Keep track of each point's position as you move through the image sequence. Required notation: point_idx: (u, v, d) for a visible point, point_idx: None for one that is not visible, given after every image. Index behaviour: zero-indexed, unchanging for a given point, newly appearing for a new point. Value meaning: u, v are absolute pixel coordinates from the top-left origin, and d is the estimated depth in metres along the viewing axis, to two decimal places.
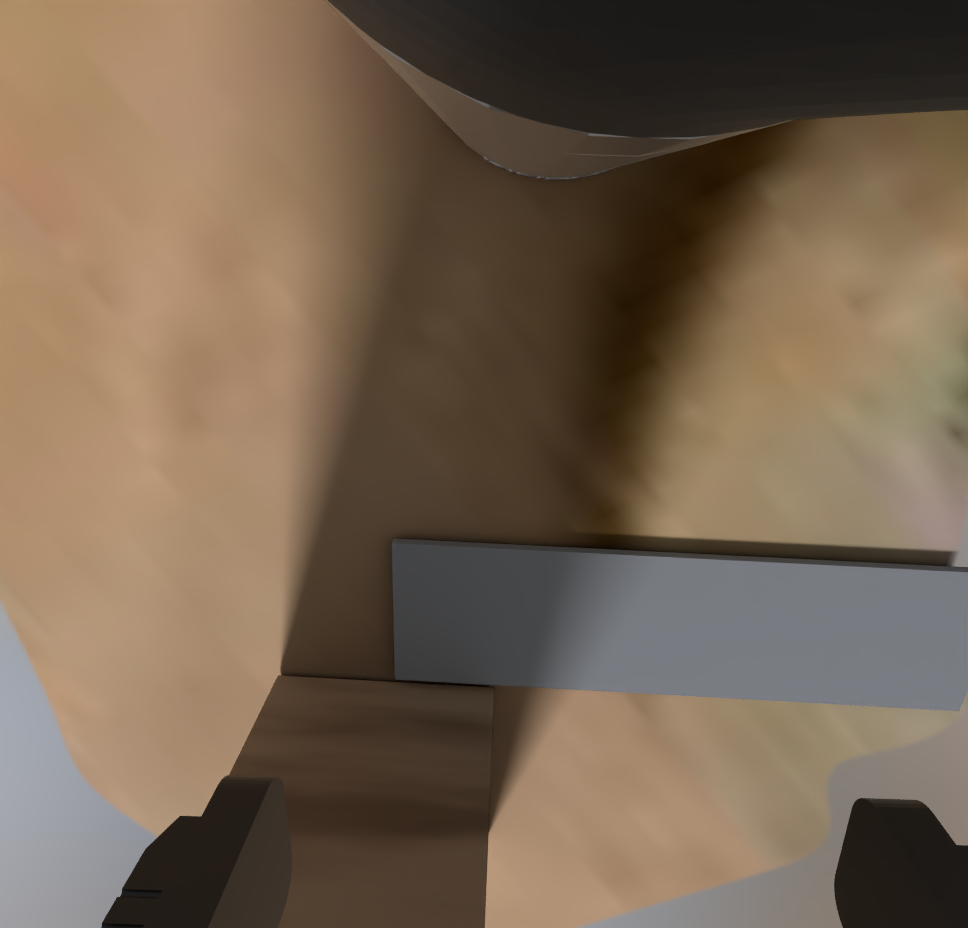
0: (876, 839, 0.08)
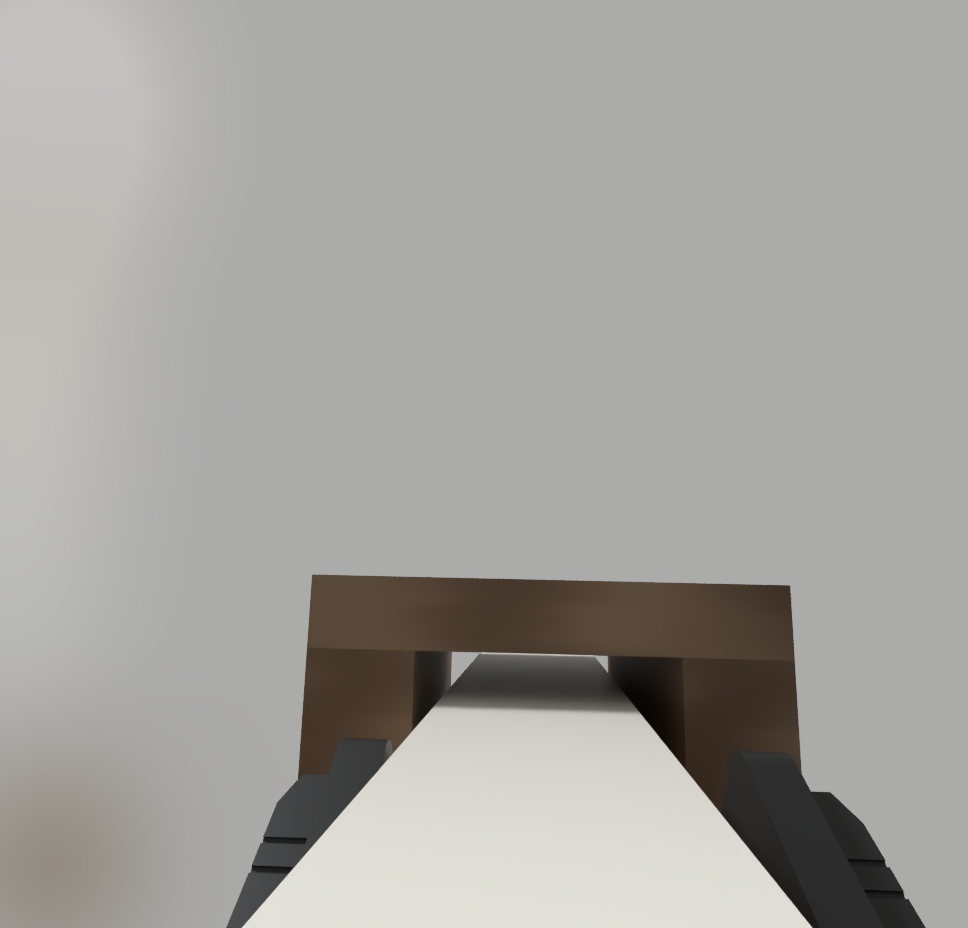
0: (744, 786, 0.09)
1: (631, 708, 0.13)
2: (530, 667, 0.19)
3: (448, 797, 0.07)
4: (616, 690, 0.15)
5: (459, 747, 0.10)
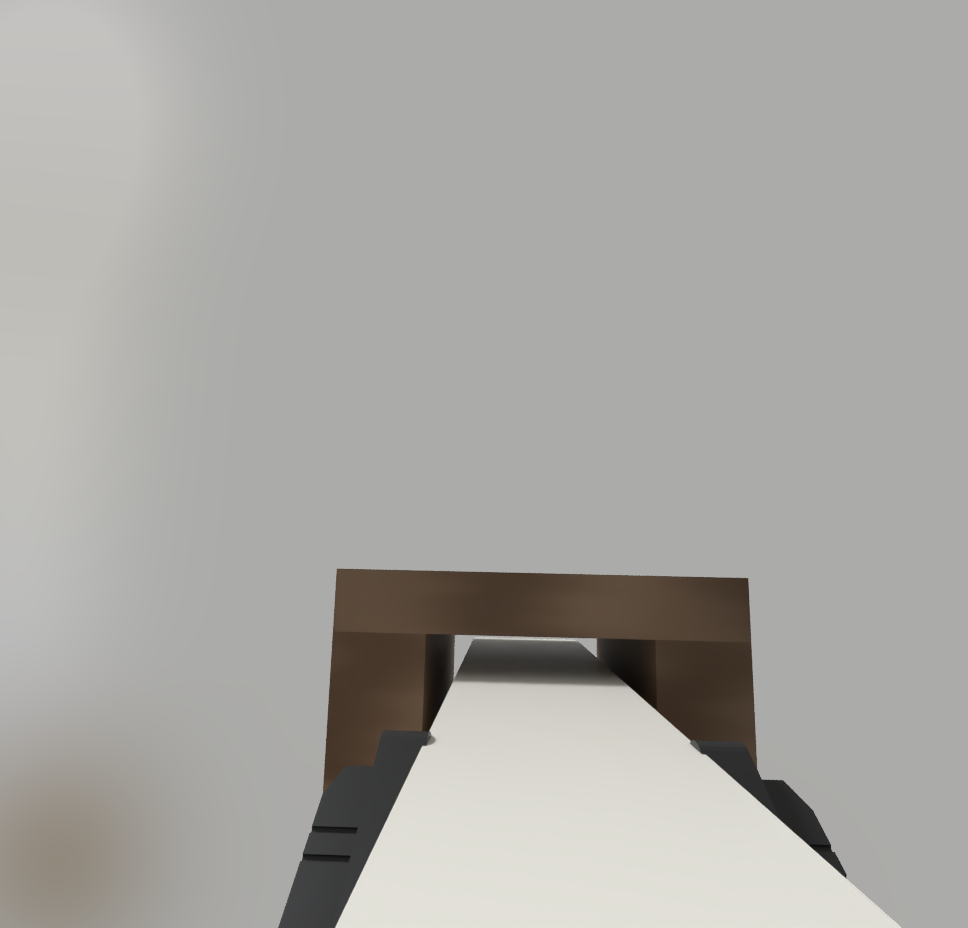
0: None
1: (638, 699, 0.13)
2: (525, 658, 0.20)
3: (491, 791, 0.07)
4: (617, 681, 0.16)
5: (485, 740, 0.10)
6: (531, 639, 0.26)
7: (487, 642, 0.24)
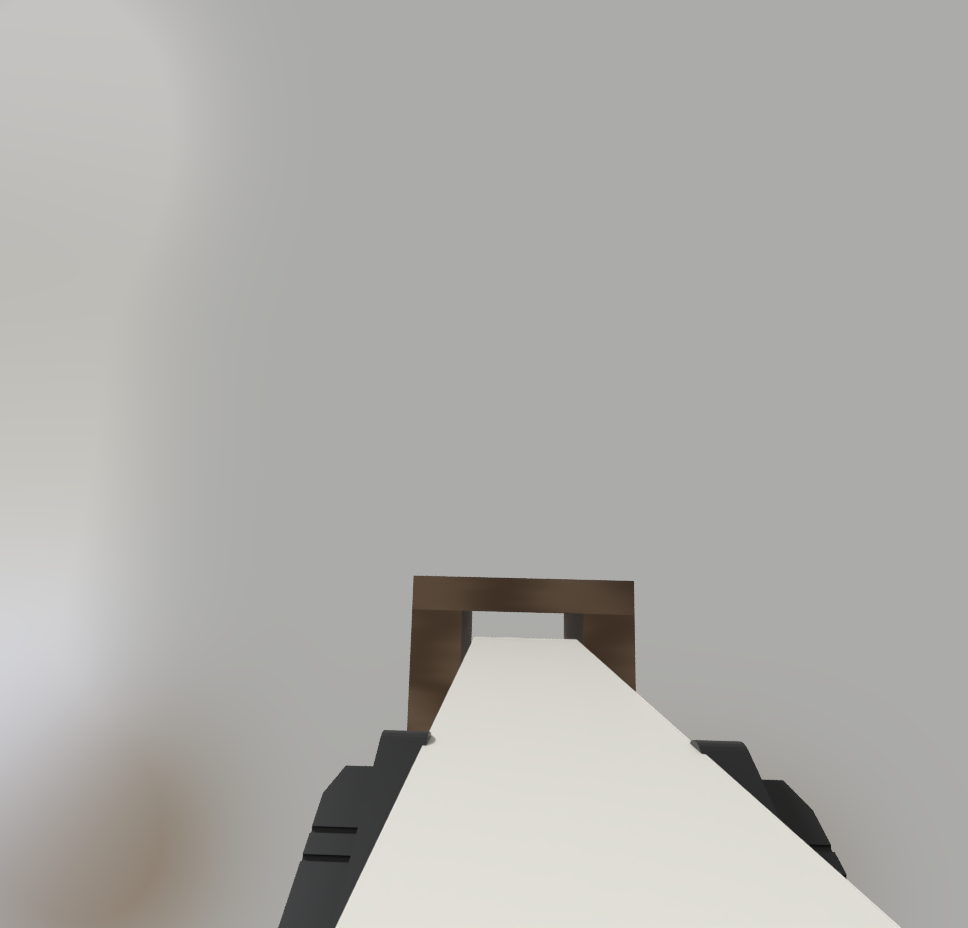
0: None
1: (638, 698, 0.13)
2: (525, 658, 0.20)
3: (491, 792, 0.07)
4: (617, 680, 0.16)
5: (484, 741, 0.10)
6: (531, 638, 0.25)
7: (487, 641, 0.24)
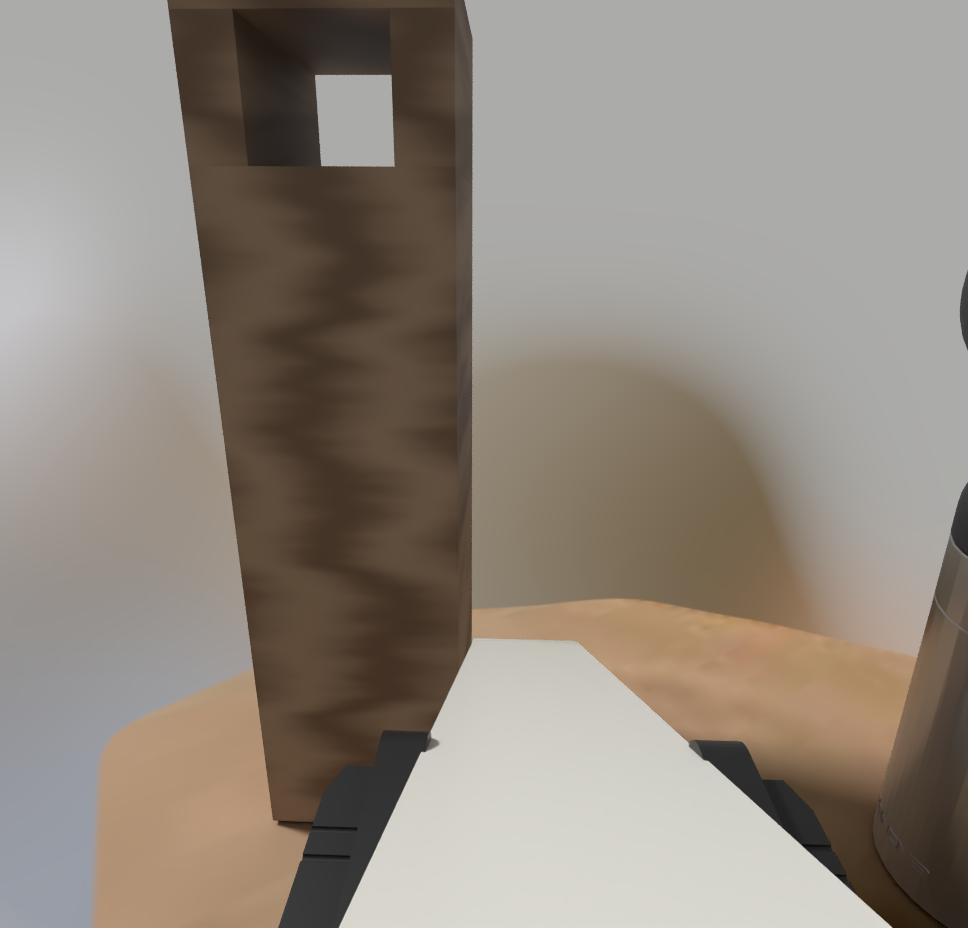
0: None
1: (638, 701, 0.13)
2: (525, 659, 0.20)
3: (491, 795, 0.07)
4: (617, 682, 0.16)
5: (485, 743, 0.10)
6: (531, 640, 0.26)
7: (487, 643, 0.24)
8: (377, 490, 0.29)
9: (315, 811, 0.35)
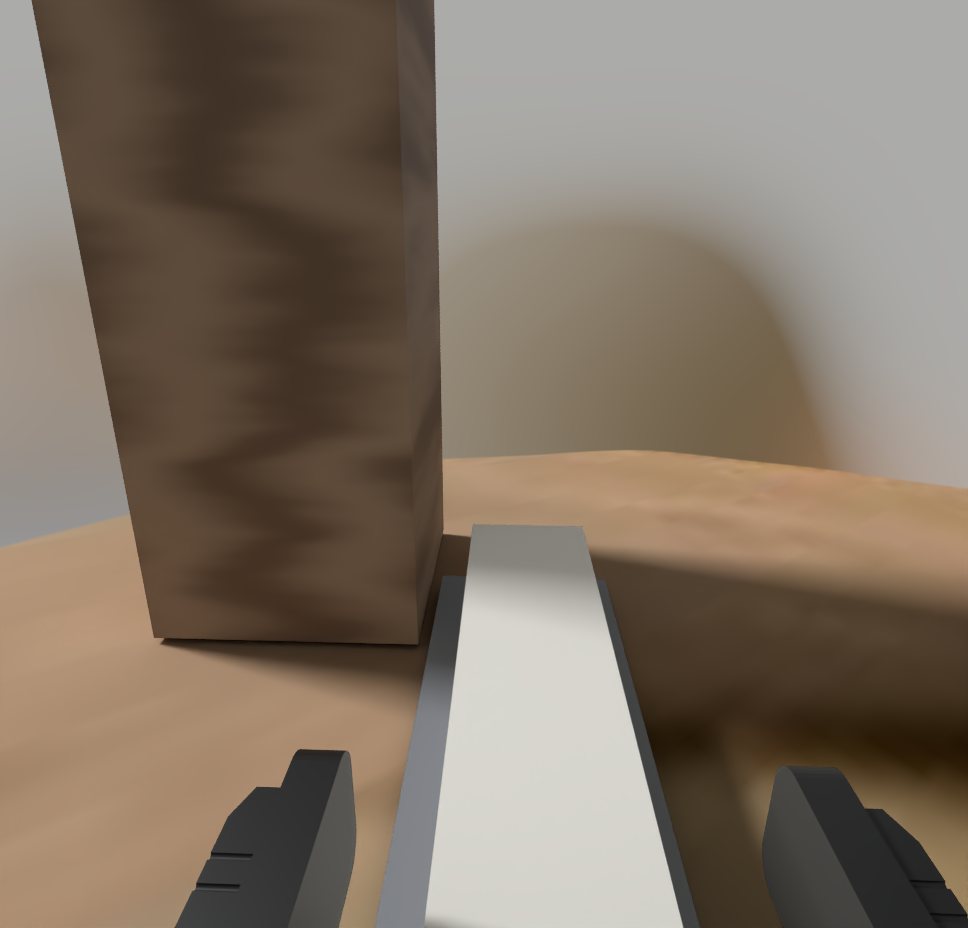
0: (793, 803, 0.09)
1: (650, 817, 0.12)
2: (527, 622, 0.18)
3: None
4: (626, 726, 0.14)
5: None
6: (534, 528, 0.24)
7: (486, 547, 0.22)
8: (272, 52, 0.18)
9: (212, 622, 0.24)
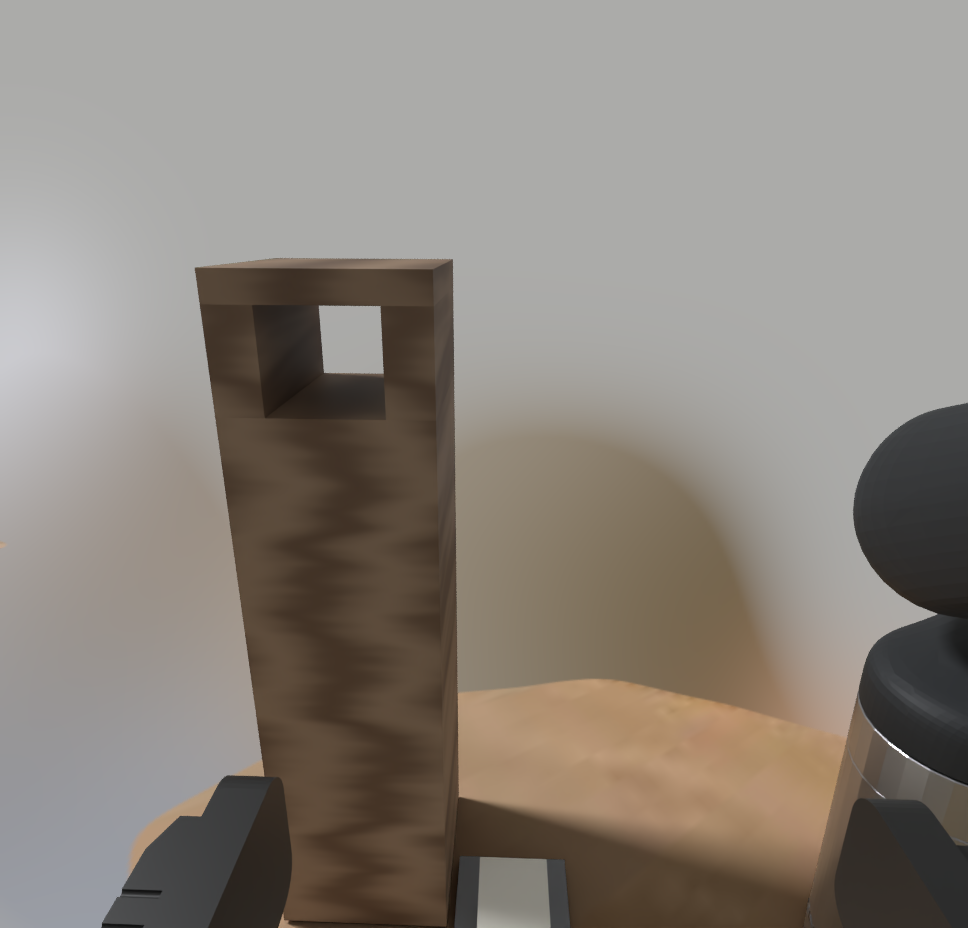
0: (876, 839, 0.08)
1: None
2: None
3: None
4: None
5: None
6: (517, 862, 0.39)
7: (488, 885, 0.38)
8: (373, 661, 0.34)
9: (321, 913, 0.40)
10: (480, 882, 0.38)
